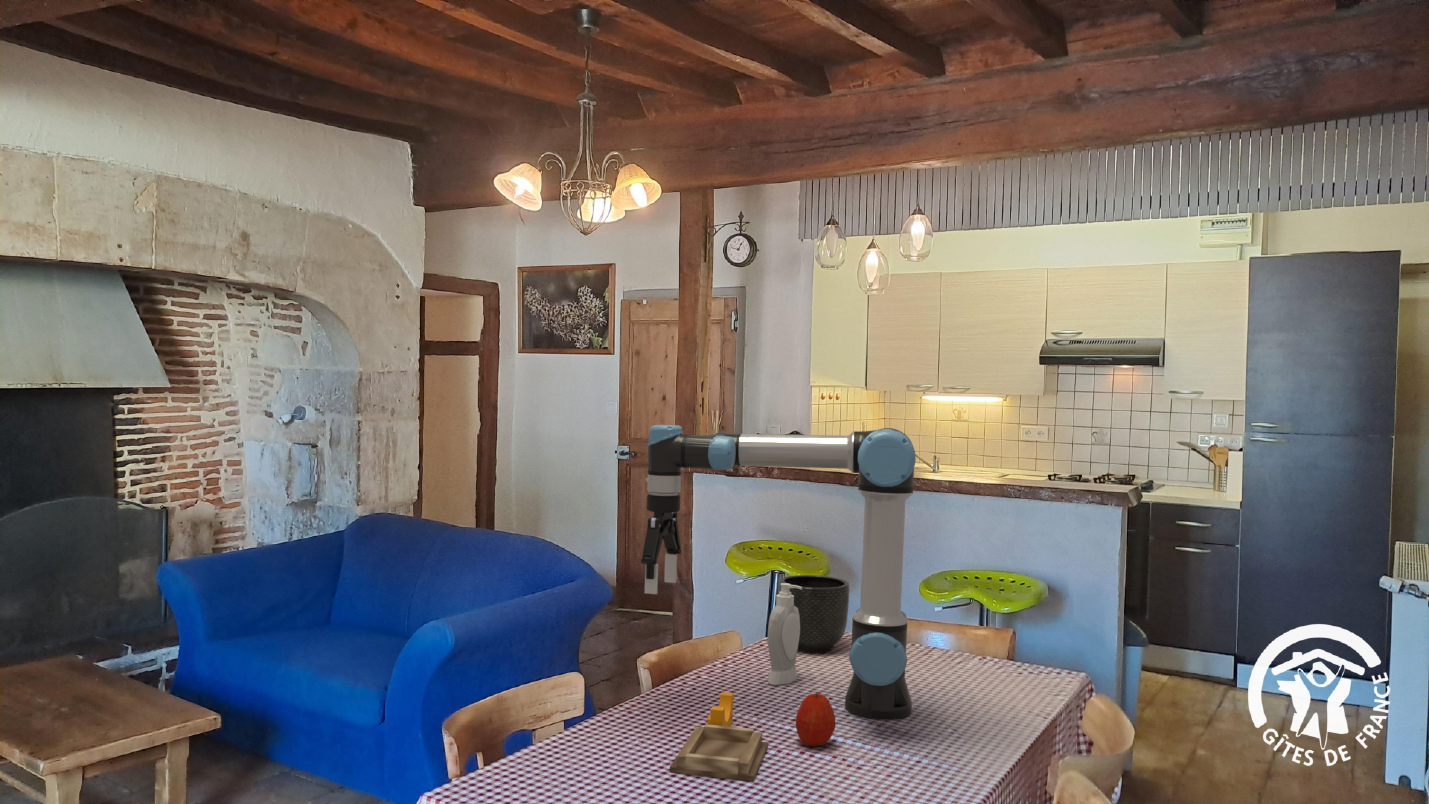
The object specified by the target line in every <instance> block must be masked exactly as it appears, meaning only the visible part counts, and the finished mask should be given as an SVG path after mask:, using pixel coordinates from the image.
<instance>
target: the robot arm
mask: <svg viewBox="0 0 1429 804" xmlns="http://www.w3.org/2000/svg"><path fill="white" fill-rule="evenodd" d="M916 460H917V459H916V451H915V448H914V445H913V443H912V441H911V439H910V438H909V436H907V434H905V432H903V431H900V430H899V429H897V428H891V427H884V428H880V429H874V430H865V431H864V430H863V431H861V430H860V431H859V430H858V431H855V430H853V431H852V432H851V433H849V434H848V435H839V434H837V435H832V434H826V435H825V434H824V435H823V434H822V435H821V434H770V433H769V434H767V433H766V434H765V433H763V434H762V433H727V432H716V433H713V434H706V435H700V434H699V435H698V434H694V435H693V434H684V432H683V428H682V426H681V425H675V424H673V425H671V424H655V425H654V424H653V425H652V426H651V427H650V428H649V434H648V444H647V477H646V478H645V482H646V483H647V486H646V487H647V489H646V490H647V492H648V494H647V495H646V511H648V512H652V513H653V517H648V518H647V519H648V520H647V526H646V527H647V528H646V529H647V530H646V535H645V538H644V539H645V541H644V545H643V549H642V550H643V551H642V556H641V560H640V563H641V565H642V564H644V566H645V567H644V568H645V570H644V594H646V595H647V594H649V595H650V594H651V595H658V589H659V588H658V587H659V586H658V584H659V583H658V582H659V580H658V579H659V563H658V560H659V559H658V558H659V555H660V552H661V551H660V550H661V547H662V543H663V542H664V547H665V550H666V553H665V554H664V581H663V582H664V583H671V584H676V583H677V579H678V578H677V574H678V573H677V572H678V554H679V555H681V554H682V549H681V548H682V547H681V546H682V545H681V540H680V538H681V537H680V531H679V524H678V512H680V510H681V496H680V494H679V493H681V492H682V490H681V488H682V482H681V481H682V469H699V470H715V471H727V470H731V469H733V467H734V466H735V467H738V466H739V467H740V466H742V467H744V466H745V467H771V468H772V467H776V468H777V467H778V468H780V467H781V468H782V467H783V468H811V469H812V468H813V469H814V468H815V469H818V468H819V469H820V468H821V469H848V470H849V471H850V472H851V473H852V474H858V484H857V485H858V487H857V488H858V489H857V491H858V492H859V493H860V495H861V496H862V497H863V498H864V514H863V533H862V535H863V536H862V537H863V540H862V557H861V558H862V559H861V560H862V561H861V562H862V563H861V580H860V581H861V583H860V585H861V586H860V604H859V605H860V608H858V609H857V610H855V613H854V614H852V624H851V625H852V628H851V645H850V646H851V647H850V650H849V656H848V658H849V663H850V667H851V668H852V670H853V674H852V678H851V680H850V683H849V684H848V685H849V686H848V688H847V690H846V693H845V697H844V707H845V710H847V712H849V713H851V714H853V715H855V716H858V717H861V718H865V719H870V720H880V721H881V720H883V721H887V720H888V721H889V720H890V721H892V720H894V721H895V720H900V719H904V718H906V717H910V716H911V714H912V713H913V712H912V711H913V702H912V699H911V695H910V691H909V688H908V684H907V680H906V668H907V664H908V657H907V641H908V640H907V639H908V638H907V637H908V619H907V615H906V612H905V611H901V609H902V590H903V589H902V587H903V586H902V585H903V568H904V567H903V565H904V564H903V562H904V544H905V543H904V542H905V541H904V540H905V517H906V515H905V514H906V501H907V500H908V499H909V498H911V496H912V495H913V494H914V478H915V466H916Z"/></svg>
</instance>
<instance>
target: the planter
mask: <svg viewBox="0 0 1429 804" xmlns="http://www.w3.org/2000/svg"><path fill="white" fill-rule="evenodd" d="M781 583H788V584H791V585H797V586H800V587H803V589H798V588H790V590H789V592H791V595H793V596H794V606H795V607H797V608H798V611H799V615H800V637H799V644H798V650H797V652H801V653H802V652H803V653H807V654H824V653H828V652H830V651H832V650H833V648H834V646H835V645H836V644H837V643H838V642H840V641H841V639H842V638H843V636H844V634H845V632H846V628H847V624H848V614H849V605H850V604H849V603H850V583H849V582H848V581H847V580H846V579H845V580H844V579H842V578H837V577H833V576H826V575H814V574H808V575H807V574H800V575H799V574H798V575H796V574H795V575H789V576H785V577H782V578H780V580H779V588H778V589H779V590H778V591H779V592H780V591H781ZM779 592H778V593H779Z"/></svg>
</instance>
